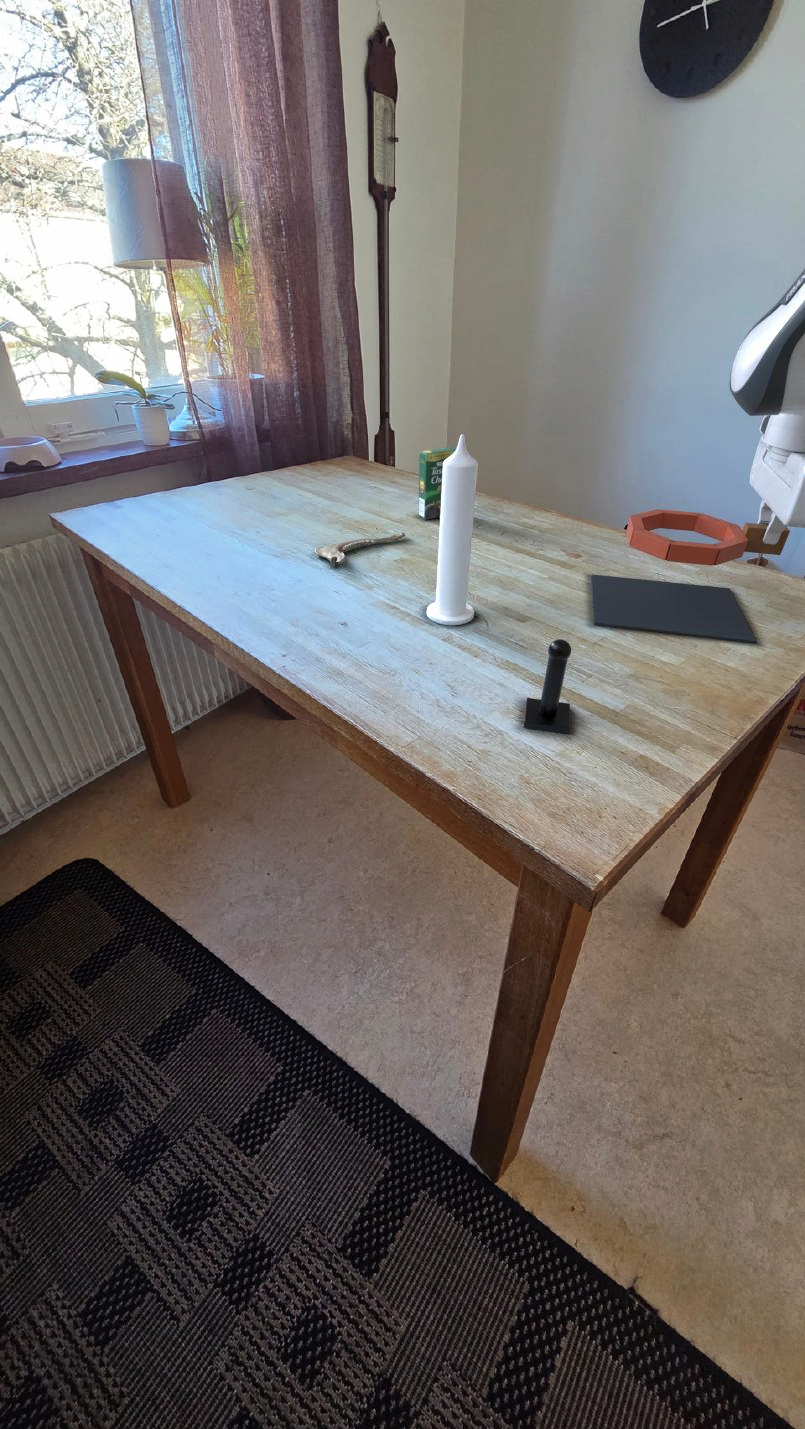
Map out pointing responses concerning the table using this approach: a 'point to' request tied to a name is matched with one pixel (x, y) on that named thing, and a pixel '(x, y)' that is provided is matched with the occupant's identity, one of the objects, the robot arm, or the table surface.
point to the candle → (455, 538)
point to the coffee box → (431, 481)
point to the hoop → (704, 524)
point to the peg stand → (551, 694)
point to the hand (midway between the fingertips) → (765, 538)
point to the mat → (668, 608)
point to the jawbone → (350, 547)
